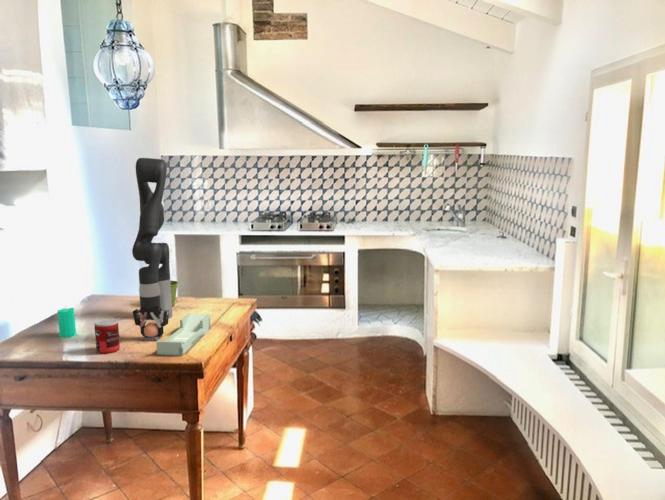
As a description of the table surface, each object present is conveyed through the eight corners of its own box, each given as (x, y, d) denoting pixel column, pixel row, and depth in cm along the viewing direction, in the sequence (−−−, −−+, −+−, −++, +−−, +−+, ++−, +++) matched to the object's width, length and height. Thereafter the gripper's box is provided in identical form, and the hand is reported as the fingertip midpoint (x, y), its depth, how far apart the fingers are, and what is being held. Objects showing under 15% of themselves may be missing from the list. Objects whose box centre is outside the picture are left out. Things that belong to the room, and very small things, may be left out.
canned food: (100, 347, 196) (98, 318, 194) (122, 346, 196) (120, 318, 194) (93, 354, 188) (90, 325, 186) (116, 353, 189) (114, 324, 187)
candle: (79, 333, 211) (77, 304, 209) (67, 338, 206) (65, 308, 204) (68, 332, 213) (65, 303, 211) (56, 336, 208) (53, 307, 205)
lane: (157, 355, 187) (156, 338, 186) (189, 327, 218) (188, 313, 217) (182, 356, 186) (181, 339, 185) (211, 328, 217) (210, 313, 216)
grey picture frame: (142, 340, 202) (142, 337, 202) (148, 336, 208) (148, 333, 208) (156, 341, 202) (156, 338, 202) (162, 336, 207) (162, 333, 207)
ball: (141, 339, 202) (140, 324, 201) (148, 334, 208) (147, 320, 207) (156, 340, 202) (155, 325, 201) (163, 335, 207) (162, 320, 206)
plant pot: (162, 310, 243) (160, 287, 241) (149, 306, 251) (148, 283, 249) (184, 305, 252) (183, 282, 250) (171, 301, 260) (170, 279, 258)
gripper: (127, 296, 199) (130, 338, 202) (163, 296, 198) (166, 339, 200) (136, 291, 206) (139, 332, 209) (171, 291, 205) (174, 333, 208)
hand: (152, 335), depth 205 cm, fingers closed on ball, 6 cm apart
